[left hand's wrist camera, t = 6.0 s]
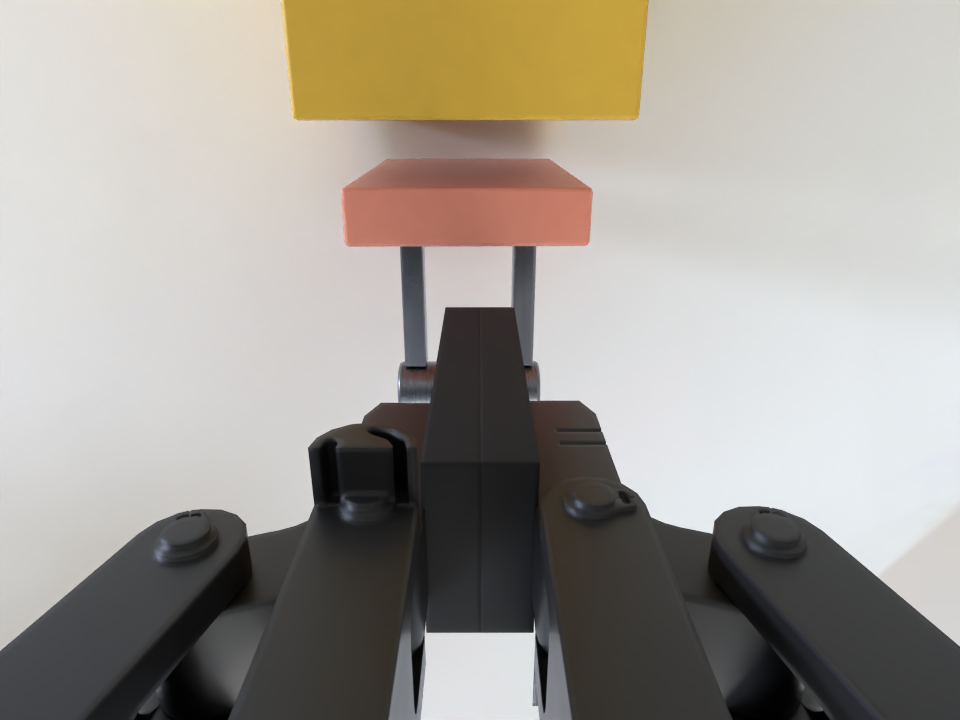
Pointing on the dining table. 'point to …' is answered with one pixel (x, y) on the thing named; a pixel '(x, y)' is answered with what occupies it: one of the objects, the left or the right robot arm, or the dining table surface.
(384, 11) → the cabinet
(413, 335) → the drawer
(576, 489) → the left robot arm
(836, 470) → the dining table surface
